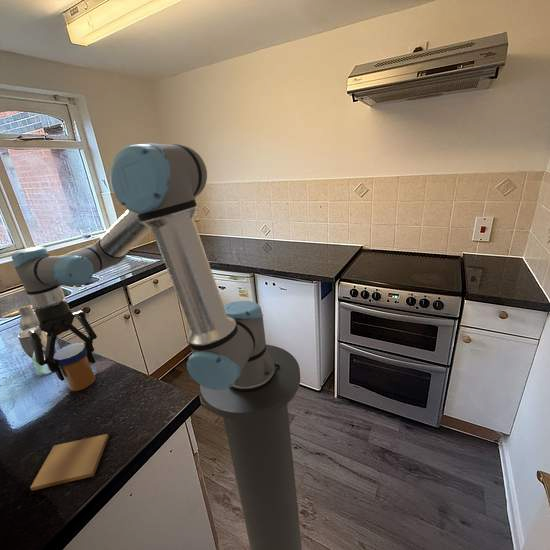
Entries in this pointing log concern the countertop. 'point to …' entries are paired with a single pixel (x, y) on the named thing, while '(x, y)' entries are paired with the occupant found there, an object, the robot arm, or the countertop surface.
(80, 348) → the lid
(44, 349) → the beer glass
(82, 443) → the mat
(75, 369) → the jar
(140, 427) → the countertop surface
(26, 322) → the plastic bottle
